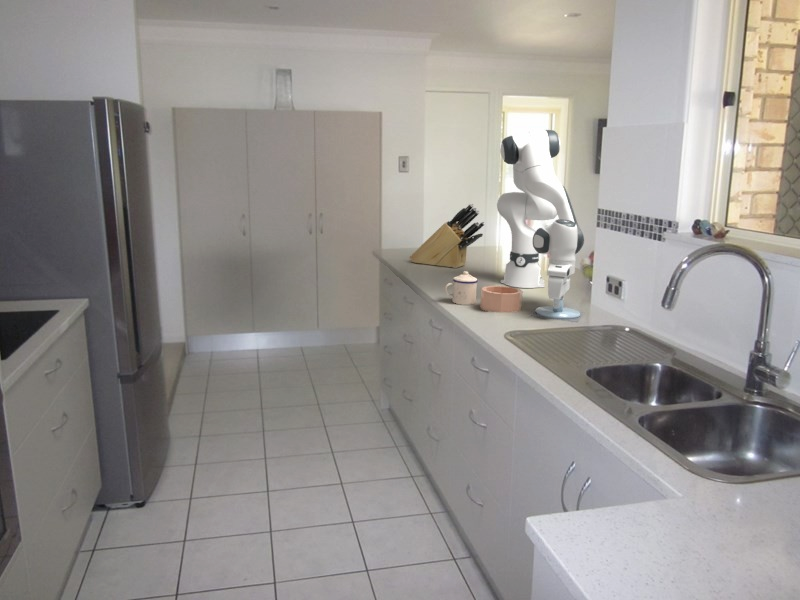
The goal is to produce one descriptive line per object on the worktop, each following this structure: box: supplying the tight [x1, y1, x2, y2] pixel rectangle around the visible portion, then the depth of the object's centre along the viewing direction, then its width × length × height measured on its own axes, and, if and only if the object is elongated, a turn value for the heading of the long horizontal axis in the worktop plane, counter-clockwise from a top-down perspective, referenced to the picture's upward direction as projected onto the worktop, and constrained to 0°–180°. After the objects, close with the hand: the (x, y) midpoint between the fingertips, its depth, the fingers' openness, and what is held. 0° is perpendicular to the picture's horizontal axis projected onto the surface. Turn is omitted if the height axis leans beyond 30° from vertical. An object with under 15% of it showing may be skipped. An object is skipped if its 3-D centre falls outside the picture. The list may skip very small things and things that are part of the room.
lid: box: [535, 299, 581, 320], centre depth 225 cm, size 15×15×5 cm
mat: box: [529, 309, 585, 323], centre depth 225 cm, size 16×16×1 cm
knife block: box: [409, 203, 486, 269], centre depth 316 cm, size 11×35×31 cm, turn 61°
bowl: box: [479, 285, 524, 313], centre depth 231 cm, size 14×14×7 cm
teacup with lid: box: [444, 270, 478, 306], centre depth 239 cm, size 12×9×12 cm
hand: (558, 306), depth 225 cm, fingers closed on lid, 3 cm apart
